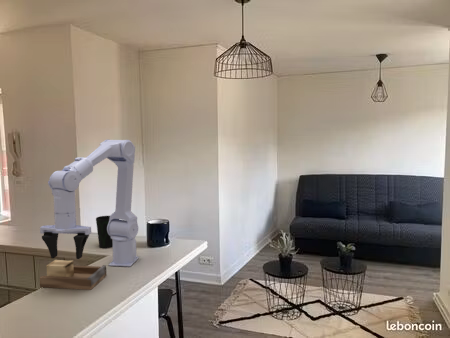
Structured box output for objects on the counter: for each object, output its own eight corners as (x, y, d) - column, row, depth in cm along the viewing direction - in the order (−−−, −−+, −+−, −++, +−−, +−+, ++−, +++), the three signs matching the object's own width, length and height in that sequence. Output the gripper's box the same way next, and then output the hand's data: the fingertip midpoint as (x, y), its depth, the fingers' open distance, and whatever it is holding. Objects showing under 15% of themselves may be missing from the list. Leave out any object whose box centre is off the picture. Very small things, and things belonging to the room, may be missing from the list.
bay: (59, 273, 123) (59, 263, 122) (106, 275, 121) (106, 265, 121) (40, 287, 112) (39, 276, 111) (91, 289, 110) (90, 278, 110)
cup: (94, 245, 153) (93, 217, 152) (112, 242, 158) (111, 214, 157) (100, 250, 147) (99, 220, 146) (119, 247, 152) (118, 218, 151)
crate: (56, 273, 119) (55, 259, 119) (74, 274, 119) (73, 260, 118) (46, 279, 114) (46, 265, 114) (65, 280, 114) (65, 266, 113)
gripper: (33, 214, 104) (35, 261, 106) (82, 215, 103) (84, 263, 104) (47, 209, 111) (48, 253, 113) (93, 210, 110) (95, 255, 111)
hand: (66, 257), depth 109 cm, fingers open, 7 cm apart
